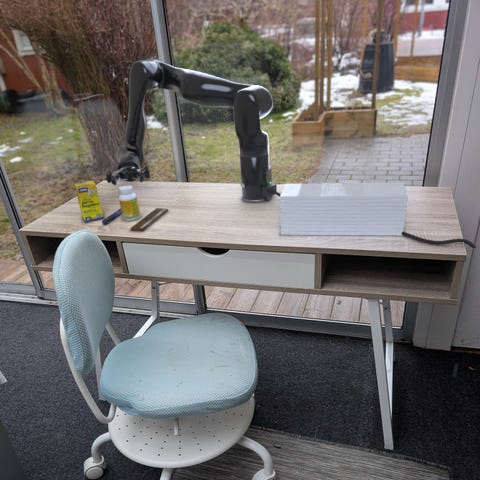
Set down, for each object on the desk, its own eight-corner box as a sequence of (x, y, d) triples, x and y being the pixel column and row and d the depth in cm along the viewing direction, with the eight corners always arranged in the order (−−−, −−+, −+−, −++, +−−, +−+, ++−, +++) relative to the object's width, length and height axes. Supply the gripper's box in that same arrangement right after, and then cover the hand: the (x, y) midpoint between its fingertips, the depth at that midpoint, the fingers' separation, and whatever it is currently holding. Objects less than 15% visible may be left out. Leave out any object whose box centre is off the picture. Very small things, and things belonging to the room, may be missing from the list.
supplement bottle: (136, 221, 146) (130, 190, 141) (120, 221, 148) (113, 190, 142) (142, 214, 151) (137, 184, 146) (127, 214, 152) (121, 184, 147)
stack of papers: (398, 220, 133) (403, 182, 127) (402, 235, 124) (408, 195, 118) (284, 220, 138) (283, 183, 133) (280, 234, 130) (279, 196, 124)
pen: (125, 208, 157) (124, 203, 156) (130, 209, 156) (129, 204, 155) (101, 225, 145) (100, 220, 144) (106, 225, 145) (105, 220, 144)
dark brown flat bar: (156, 210, 153) (156, 207, 153) (168, 210, 152) (167, 208, 152) (130, 230, 140) (130, 228, 140) (142, 231, 139) (142, 228, 138)
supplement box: (85, 223, 148) (76, 188, 142) (82, 217, 153) (73, 183, 147) (104, 218, 150) (96, 184, 144) (100, 213, 155) (92, 180, 149)
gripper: (106, 159, 164) (102, 171, 150) (147, 154, 165) (147, 166, 152) (111, 180, 168) (108, 194, 155) (151, 175, 169) (151, 189, 156)
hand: (127, 180), depth 153 cm, fingers open, 8 cm apart
